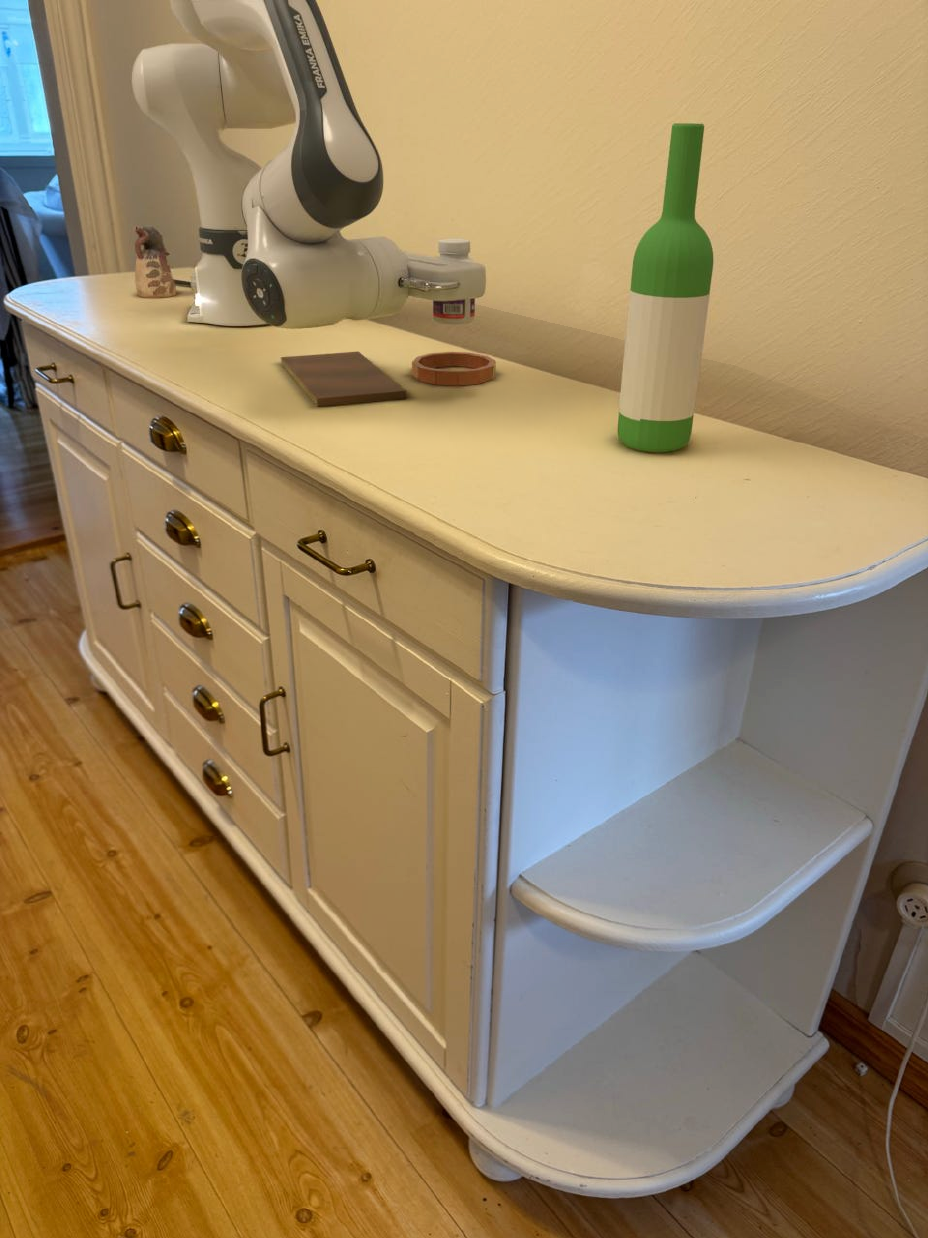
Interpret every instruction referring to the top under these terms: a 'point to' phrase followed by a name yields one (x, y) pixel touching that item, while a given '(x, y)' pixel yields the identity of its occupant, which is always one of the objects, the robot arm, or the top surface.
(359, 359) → the board
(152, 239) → the figurine
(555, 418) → the top surface
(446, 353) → the ring
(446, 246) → the pill bottle
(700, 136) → the wine bottle
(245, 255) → the robot arm
